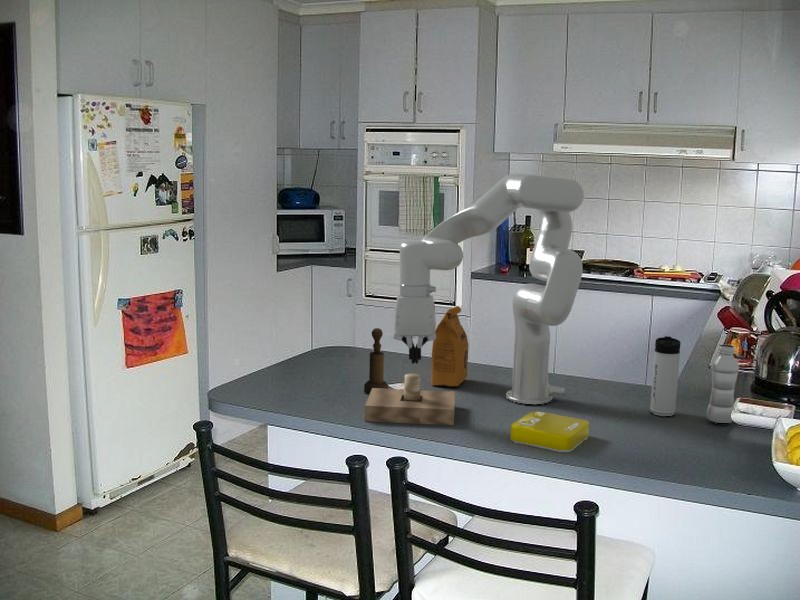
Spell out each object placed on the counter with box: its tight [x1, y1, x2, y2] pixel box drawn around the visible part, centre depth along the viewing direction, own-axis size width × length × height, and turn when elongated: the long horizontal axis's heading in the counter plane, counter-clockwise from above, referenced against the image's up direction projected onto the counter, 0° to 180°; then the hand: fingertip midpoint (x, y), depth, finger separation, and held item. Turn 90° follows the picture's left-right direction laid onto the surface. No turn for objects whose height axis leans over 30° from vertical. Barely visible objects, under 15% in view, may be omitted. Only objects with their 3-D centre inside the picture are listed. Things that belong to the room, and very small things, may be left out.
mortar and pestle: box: [363, 327, 389, 395], centre depth 240 cm, size 7×6×18 cm
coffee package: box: [430, 305, 469, 387], centre depth 250 cm, size 10×12×22 cm
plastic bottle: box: [706, 344, 740, 424], centre depth 219 cm, size 6×7×20 cm
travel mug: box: [649, 335, 681, 414], centre depth 226 cm, size 6×7×20 cm
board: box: [364, 388, 456, 426], centre depth 222 cm, size 22×16×4 cm
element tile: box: [509, 410, 590, 450], centre depth 205 cm, size 15×15×5 cm
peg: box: [403, 373, 421, 402], centre depth 222 cm, size 4×4×10 cm
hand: (415, 362), depth 221 cm, fingers closed
